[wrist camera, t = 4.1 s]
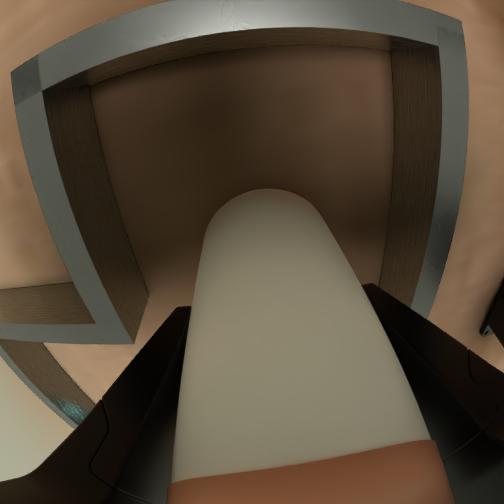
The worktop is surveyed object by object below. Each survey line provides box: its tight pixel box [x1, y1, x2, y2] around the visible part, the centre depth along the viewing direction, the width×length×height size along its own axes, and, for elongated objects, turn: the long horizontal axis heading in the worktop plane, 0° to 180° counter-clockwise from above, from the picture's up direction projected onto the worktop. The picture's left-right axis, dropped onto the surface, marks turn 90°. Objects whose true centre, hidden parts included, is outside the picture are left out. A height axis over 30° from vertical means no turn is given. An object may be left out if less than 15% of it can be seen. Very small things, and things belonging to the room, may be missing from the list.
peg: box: [167, 189, 455, 504], centre depth 6 cm, size 4×4×9 cm
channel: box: [0, 0, 469, 429], centre depth 14 cm, size 23×32×3 cm
